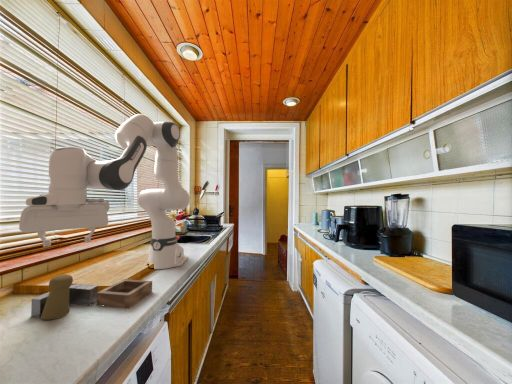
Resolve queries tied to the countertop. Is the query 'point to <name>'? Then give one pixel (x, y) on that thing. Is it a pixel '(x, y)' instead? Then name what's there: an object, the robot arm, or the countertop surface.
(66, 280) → the cork
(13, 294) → the countertop surface
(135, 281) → the sleeve
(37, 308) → the v block
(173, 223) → the robot arm
